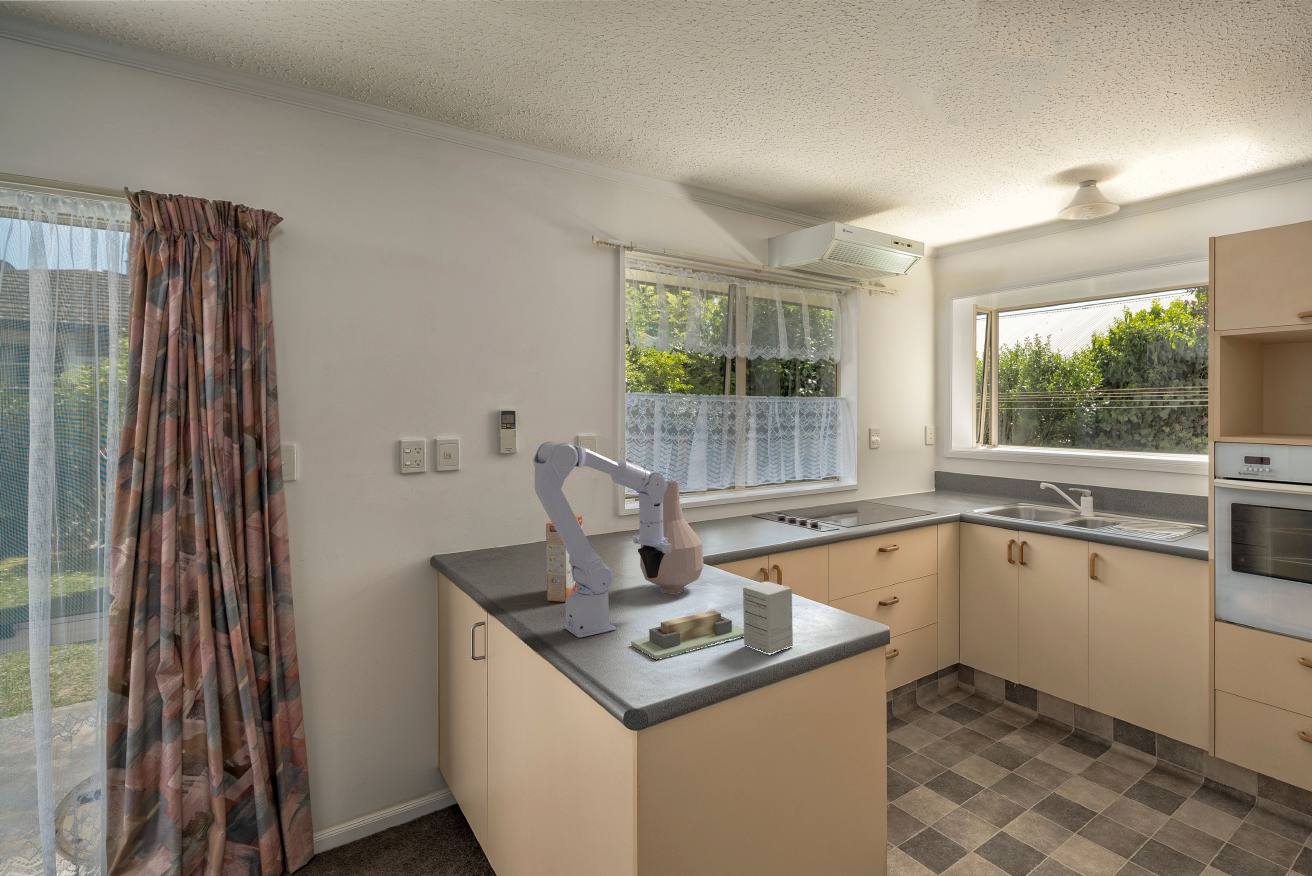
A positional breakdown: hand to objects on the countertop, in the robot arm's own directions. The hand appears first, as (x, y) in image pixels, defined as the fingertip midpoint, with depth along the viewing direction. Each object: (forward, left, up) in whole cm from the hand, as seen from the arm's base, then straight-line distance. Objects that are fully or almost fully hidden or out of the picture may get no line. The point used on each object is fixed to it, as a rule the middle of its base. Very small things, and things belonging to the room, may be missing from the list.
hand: (652, 577), depth 153 cm
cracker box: (-10, +29, -10) cm, 32 cm away
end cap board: (-2, -19, -9) cm, 21 cm away
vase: (+16, +16, -10) cm, 25 cm away
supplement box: (+9, -31, -10) cm, 34 cm away
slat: (-2, -19, -8) cm, 21 cm away
